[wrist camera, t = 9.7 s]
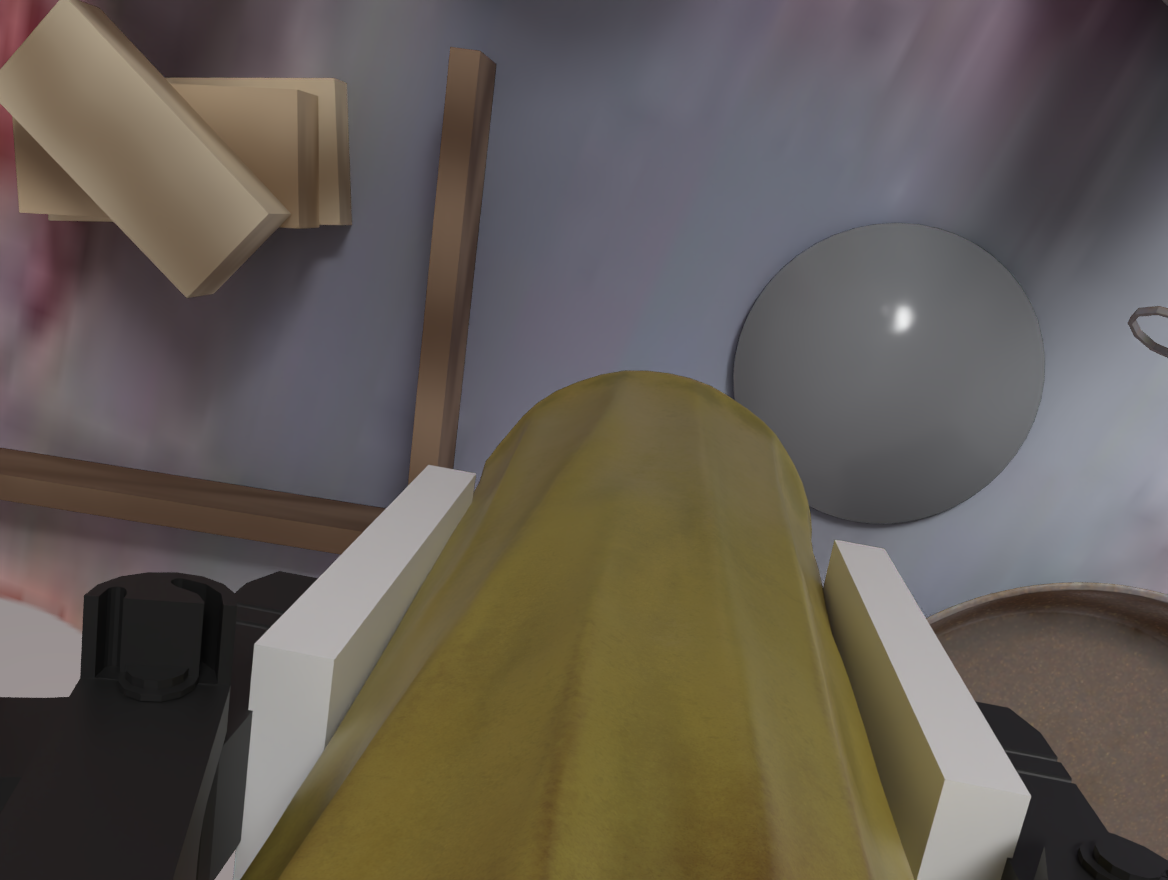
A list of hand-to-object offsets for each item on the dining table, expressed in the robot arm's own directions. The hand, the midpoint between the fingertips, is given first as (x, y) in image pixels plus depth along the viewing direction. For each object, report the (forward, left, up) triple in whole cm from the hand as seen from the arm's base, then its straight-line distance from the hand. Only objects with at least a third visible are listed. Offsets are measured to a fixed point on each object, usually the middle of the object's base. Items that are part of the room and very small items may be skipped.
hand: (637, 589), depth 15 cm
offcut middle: (-5, -18, -21) cm, 28 cm away
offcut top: (-5, -18, -19) cm, 27 cm away
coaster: (-1, +8, -22) cm, 24 cm away
